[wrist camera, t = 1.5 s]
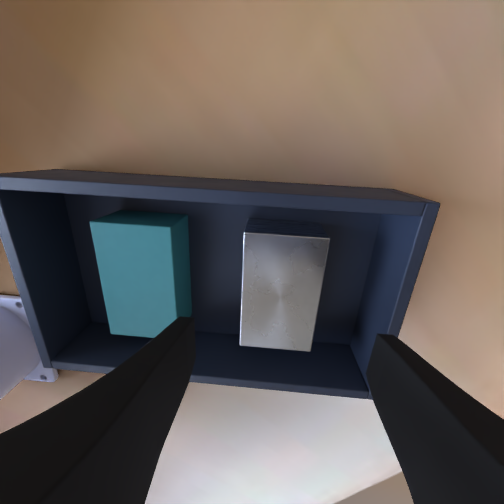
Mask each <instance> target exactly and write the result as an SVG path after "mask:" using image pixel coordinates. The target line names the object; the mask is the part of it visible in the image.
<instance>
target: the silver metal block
mask: <svg viewBox="0 0 504 504" xmlns="http://www.w3.org/2000/svg"><path fill="white" fill-rule="evenodd" d="M329 243H330V237H329V236H328V234H327V233H326V231H325V230H324V229H323V227H322V226H321V224H320V223H309V222H294V221H279V220H264V219H248V222H247V225H246V227H245V230H244V236H243V261H242V287H241V312H240V337H239V345H240V346H250V347H261V348H272V349H283V350H294V351H306V352H311V348H312V342H313V336H314V330H315V325H316V319H317V313H318V307H319V301H320V295H321V290H322V284H323V278H324V272H325V266H326V260H327V254H328V249H329Z"/></svg>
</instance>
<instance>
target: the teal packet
mask: <svg viewBox="0 0 504 504" xmlns="http://www.w3.org/2000/svg"><path fill="white" fill-rule="evenodd" d="M90 227H91V232H92V238H93V243H94V248H95V254H96V259H97V264H98V269H99V275H100V280H101V285H102V290H103V296H104V301H105V306H106V312H107V317H108V322H109V327H110V333H111V334H116V335H127V336H138V337H150V338H155V337H156V336H157V335H158V334H159V333H160V332H162V331H163V330H164V329H165V328H166V327H167V326H169V325H170V324H171V323H172V322H173V321H174V320H176V319H177V318H178V317H179V316H182V317H190V316H191V314H192V301H191V278H190V255H189V232H188V215H187V214H173V213H157V212H142V211H127V210H119V211H116V212H114V213H111V214H108V215H106V216H103V217H101V218H98V219H95V220H93V221H90Z"/></svg>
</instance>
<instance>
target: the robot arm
mask: <svg viewBox="0 0 504 504" xmlns="http://www.w3.org/2000/svg"><path fill="white" fill-rule="evenodd" d="M195 359H196V345H195V320H194V317H182V316H179V317H178V318H177V319H176V320H174V321H173V322H172V323H171V324H170V325H169V326H167V327H166V328H165V329H164V330H163V331H162V332H160V333H159V334H158V335H157V336H156V337H155V338H153V339H152V340H151V341H150V342H149V343H147V344H146V345H145V346H144V347H142V348H141V349H140V350H139V351H137V352H136V353H135V354H134V355H132V356H131V357H130V358H128V359H127V360H126V361H124V362H123V363H122V364H120V365H119V366H118V367H116V368H115V369H113V370H112V371H111V372H109V373H108V374H106V375H105V376H103V377H102V378H100V379H99V380H97V381H95V382H94V383H92V384H91V385H89V386H88V387H86V388H85V389H83V390H81V391H80V392H78V393H76V394H74V395H73V396H71V397H69V398H67V399H66V400H64V401H62V402H60V403H59V404H57V405H55V406H53V407H52V408H50V409H48V410H46V411H45V412H43V413H41V414H39V415H37V416H35V417H33V418H31V419H29V420H27V421H25V422H24V423H22V424H20V425H18V426H16V427H14V428H12V429H10V430H7V431H5V432H3V433H1V434H0V504H145V501H146V497H147V494H148V491H149V488H150V484H151V481H152V478H153V475H154V472H155V469H156V465H157V462H158V459H159V456H160V453H161V451H162V448H163V445H164V442H165V440H166V438H167V435H168V433H169V430H170V428H171V425H172V423H173V420H174V418H175V416H176V413H177V411H178V408H179V406H180V403H181V401H182V398H183V396H184V393H185V391H186V389H187V386H188V383H189V381H190V377H191V374H192V370H193V366H194V363H195ZM366 377H367V380H368V384H369V388H370V391H371V395H372V398H373V401H374V404H375V406H376V409H377V411H378V413H379V416H380V418H381V421H382V423H383V426H384V428H385V430H386V433H387V435H388V437H389V440H390V442H391V445H392V447H393V449H394V452H395V454H396V456H397V459H398V461H399V464H400V466H401V468H402V471H403V474H404V476H405V479H406V481H407V484H408V487H409V490H410V493H411V496H412V499H413V502H414V504H504V419H502V418H501V417H499V416H498V415H496V414H495V413H493V412H492V411H491V410H489V409H488V408H486V407H485V406H484V405H482V404H481V403H480V402H478V401H477V400H476V399H474V398H473V397H471V396H470V395H469V394H467V393H466V392H465V391H463V390H462V389H461V388H459V387H458V386H457V385H456V384H454V383H453V382H452V381H450V380H449V379H448V378H447V377H445V376H444V375H443V374H442V373H440V372H439V371H438V370H437V369H435V368H434V367H433V366H432V365H430V364H429V363H428V362H427V361H425V360H424V359H423V358H422V357H421V356H419V355H418V354H417V353H416V352H414V351H413V350H412V349H411V348H410V347H408V346H407V345H406V344H405V343H403V342H402V341H401V340H399V339H398V338H397V337H395V336H394V335H390V334H378V333H377V335H376V338H375V342H374V346H373V349H372V353H371V356H370V360H369V363H368V367H367V370H366ZM57 378H58V372H57V369H54V368H44V367H43V364H42V361H41V358H40V355H39V352H38V349H37V346H36V343H35V340H34V337H33V334H32V331H31V328H30V325H29V322H28V319H27V316H26V313H25V310H24V307H23V304H22V301H21V297H20V296H9V295H0V400H1V399H2V398H3V397H4V396H5V395H6V394H7V393H9V392H10V391H11V390H12V389H13V388H14V387H15V386H16V385H17V384H18V383H19V382H21V381H22V380H23V379H24V380H34V381H44V382H54V381H56V379H57Z"/></svg>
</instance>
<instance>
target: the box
mask: <svg viewBox="0 0 504 504" xmlns="http://www.w3.org/2000/svg"><path fill="white" fill-rule="evenodd" d="M439 208H440V203H438V202H435V201H432V200H428V199H425V198H422V197H418V196H415V195H412V194H408V193H405V192H402V191H398V190H395V189H384V188H368V187H351V186H334V185H317V184H300V183H283V182H266V181H249V180H232V179H215V178H198V177H181V176H164V175H147V174H130V173H113V172H96V171H79V170H62V169H51V170H39V171H26V172H13V173H0V237H1V240H2V243H3V246H4V249H5V252H6V255H7V258H8V261H9V264H10V267H11V270H12V273H13V276H14V279H15V282H16V285H17V288H18V291H19V294H20V297H21V301H22V304H23V307H24V310H25V313H26V316H27V319H28V322H29V325H30V328H31V331H32V334H33V337H34V340H35V343H36V346H37V349H38V352H39V355H40V358H41V361H42V364H43V367H44V368H54V369H63V370H73V371H84V372H94V373H104V374H108V373H109V372H111V371H112V370H113V369H115V368H116V367H118V366H119V365H120V364H122V363H123V362H124V361H126V360H127V359H128V358H130V357H131V356H132V355H134V354H135V353H136V352H137V351H139V350H140V349H141V348H142V347H144V346H145V345H146V344H147V343H149V342H150V341H151V340H152V339H153V338H150V337H138V336H127V335H116V334H111V333H110V327H109V322H108V317H107V312H106V306H105V301H104V296H103V290H102V285H101V280H100V275H99V269H98V264H97V259H96V254H95V248H94V243H93V238H92V232H91V227H90V221H93V220H95V219H98V218H101V217H103V216H106V215H108V214H111V213H114V212H116V211H119V210H127V211H142V212H157V213H173V214H187V215H188V232H189V255H190V278H191V301H192V314H191V316H190V317H194V320H195V345H196V359H195V363H194V366H193V370H192V374H191V377H190V381H189V382H197V383H207V384H217V385H228V386H238V387H248V388H258V389H269V390H279V391H289V392H299V393H310V394H320V395H330V396H341V397H351V398H361V399H371V400H373V398H372V395H371V391H370V388H369V384H368V380H367V377H366V370H367V367H368V363H369V360H370V356H371V353H372V349H373V346H374V342H375V338H376V335H377V333H378V334H390V335H394V336H395V337H397V338H398V335H399V332H400V329H401V326H402V323H403V320H404V316H405V313H406V310H407V307H408V304H409V301H410V298H411V295H412V292H413V288H414V285H415V282H416V279H417V276H418V273H419V270H420V267H421V264H422V261H423V257H424V254H425V251H426V248H427V245H428V242H429V239H430V236H431V233H432V229H433V226H434V223H435V220H436V217H437V214H438V211H439ZM248 219H264V220H279V221H294V222H309V223H320V224H321V226H322V227H323V229H324V230H325V231H326V233H327V234H328V236H329V237H330V243H329V249H328V254H327V260H326V266H325V272H324V278H323V284H322V290H321V295H320V301H319V307H318V313H317V319H316V325H315V330H314V336H313V342H312V348H311V352H306V351H294V350H283V349H272V348H261V347H250V346H240V345H239V337H240V312H241V287H242V261H243V236H244V230H245V227H246V225H247V222H248Z"/></svg>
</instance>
